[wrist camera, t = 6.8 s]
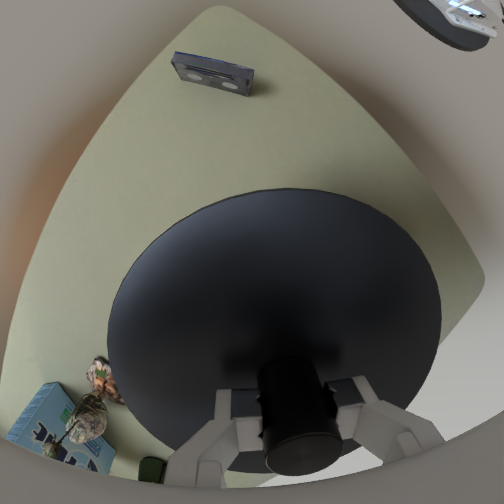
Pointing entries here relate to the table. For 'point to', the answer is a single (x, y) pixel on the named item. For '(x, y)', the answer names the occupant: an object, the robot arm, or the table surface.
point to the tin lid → (273, 320)
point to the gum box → (58, 431)
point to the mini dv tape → (213, 73)
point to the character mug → (152, 471)
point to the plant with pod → (88, 410)
